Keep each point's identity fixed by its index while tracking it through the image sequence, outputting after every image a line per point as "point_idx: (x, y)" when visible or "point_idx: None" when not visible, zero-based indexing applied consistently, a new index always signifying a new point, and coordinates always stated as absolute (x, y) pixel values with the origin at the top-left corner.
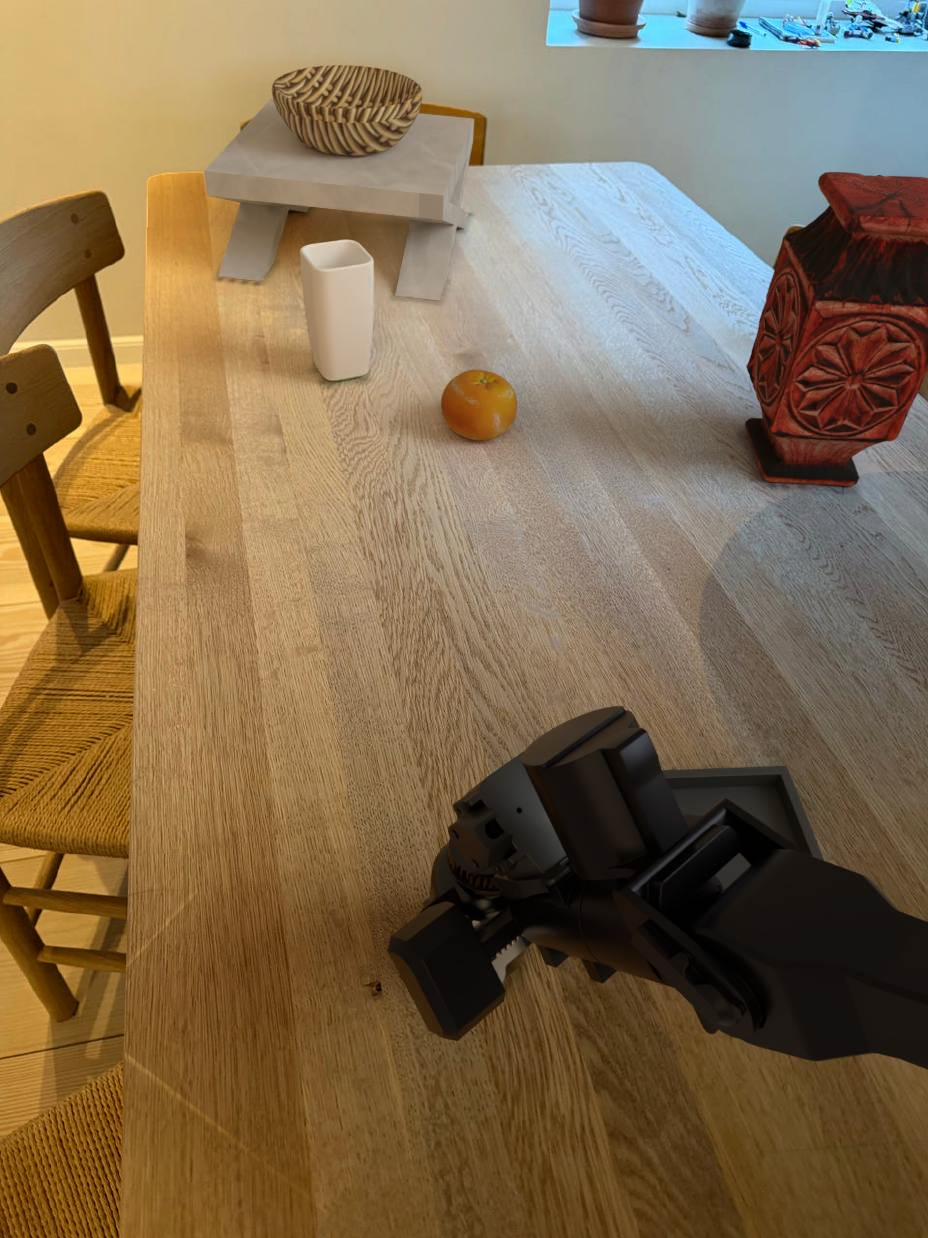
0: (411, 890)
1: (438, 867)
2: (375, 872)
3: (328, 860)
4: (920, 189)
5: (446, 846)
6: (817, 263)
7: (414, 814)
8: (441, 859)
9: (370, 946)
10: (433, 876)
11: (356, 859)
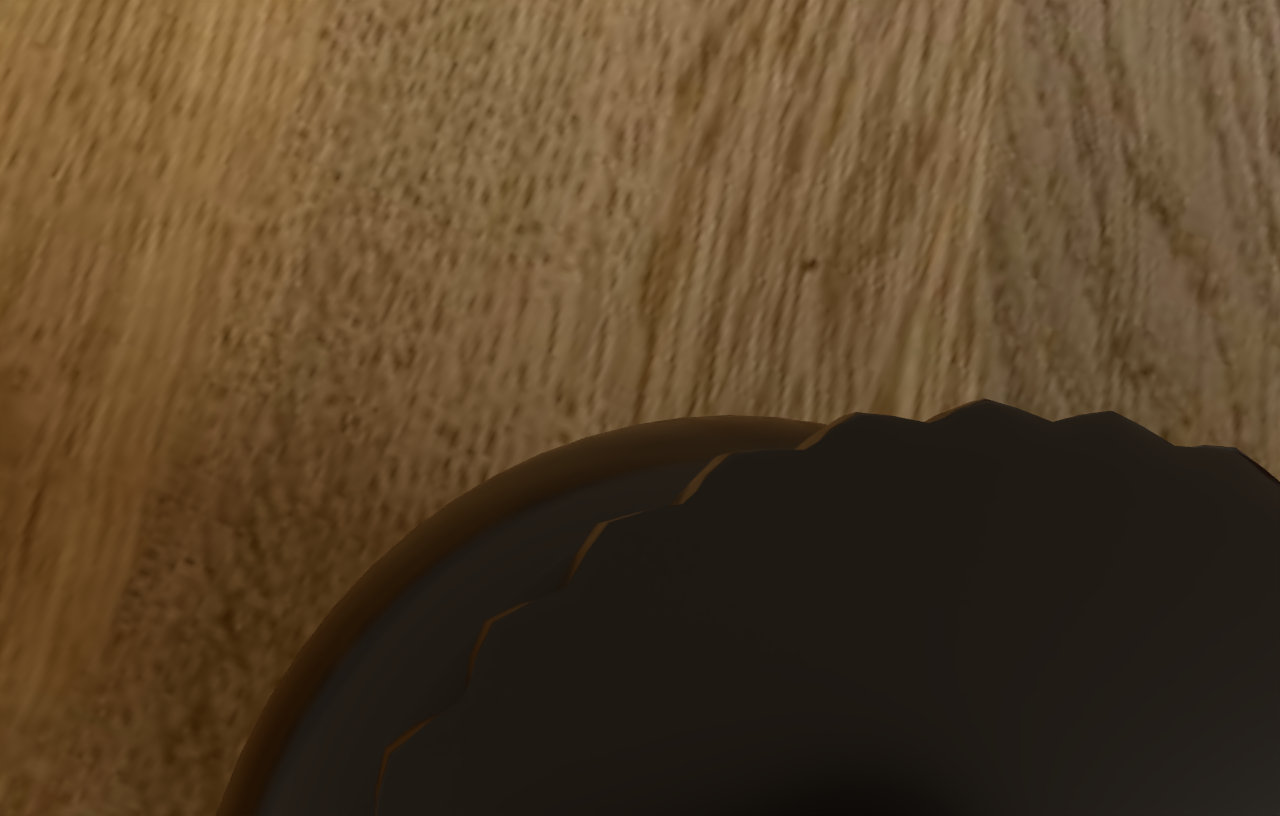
0: (424, 432)
1: (315, 728)
2: (306, 277)
3: (128, 130)
4: None
5: (526, 507)
6: None
7: (605, 95)
8: (396, 643)
9: (94, 627)
10: (244, 771)
11: (254, 180)
